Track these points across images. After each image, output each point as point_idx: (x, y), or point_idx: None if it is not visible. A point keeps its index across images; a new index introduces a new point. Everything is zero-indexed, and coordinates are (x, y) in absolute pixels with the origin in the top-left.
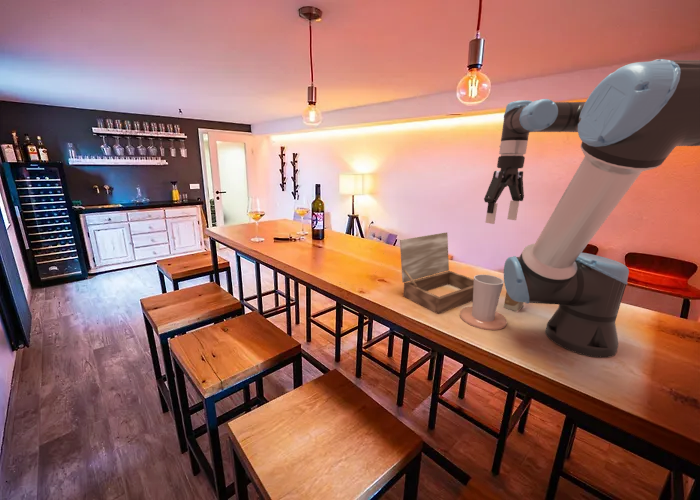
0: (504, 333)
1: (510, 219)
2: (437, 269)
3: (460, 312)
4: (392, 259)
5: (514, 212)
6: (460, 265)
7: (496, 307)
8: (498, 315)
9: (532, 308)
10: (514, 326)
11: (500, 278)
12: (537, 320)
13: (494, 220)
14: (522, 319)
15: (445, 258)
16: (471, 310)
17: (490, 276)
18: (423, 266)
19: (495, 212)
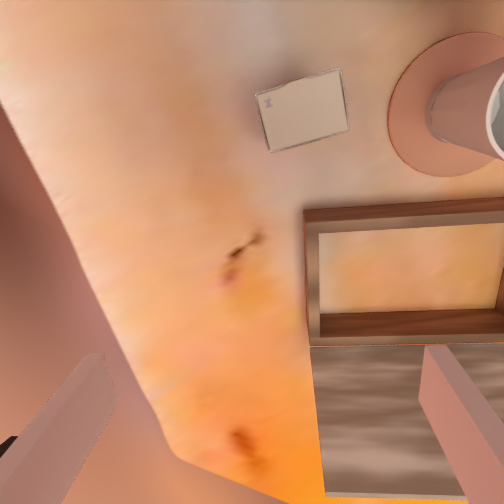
0: (495, 9)
1: (112, 383)
2: (370, 356)
3: (489, 161)
4: (301, 490)
5: (71, 417)
6: (156, 385)
7: (482, 65)
8: (412, 88)
9: (248, 77)
10: (423, 24)
11: (497, 83)
12: (319, 12)
13: (448, 365)
14: (354, 42)
15: (330, 384)
16: (448, 153)
17: (490, 132)
18: None
19: (499, 430)
